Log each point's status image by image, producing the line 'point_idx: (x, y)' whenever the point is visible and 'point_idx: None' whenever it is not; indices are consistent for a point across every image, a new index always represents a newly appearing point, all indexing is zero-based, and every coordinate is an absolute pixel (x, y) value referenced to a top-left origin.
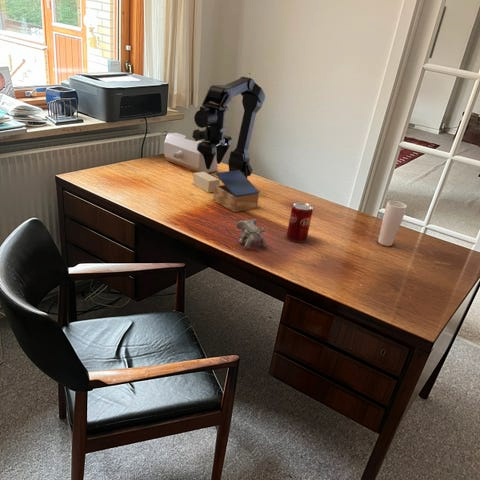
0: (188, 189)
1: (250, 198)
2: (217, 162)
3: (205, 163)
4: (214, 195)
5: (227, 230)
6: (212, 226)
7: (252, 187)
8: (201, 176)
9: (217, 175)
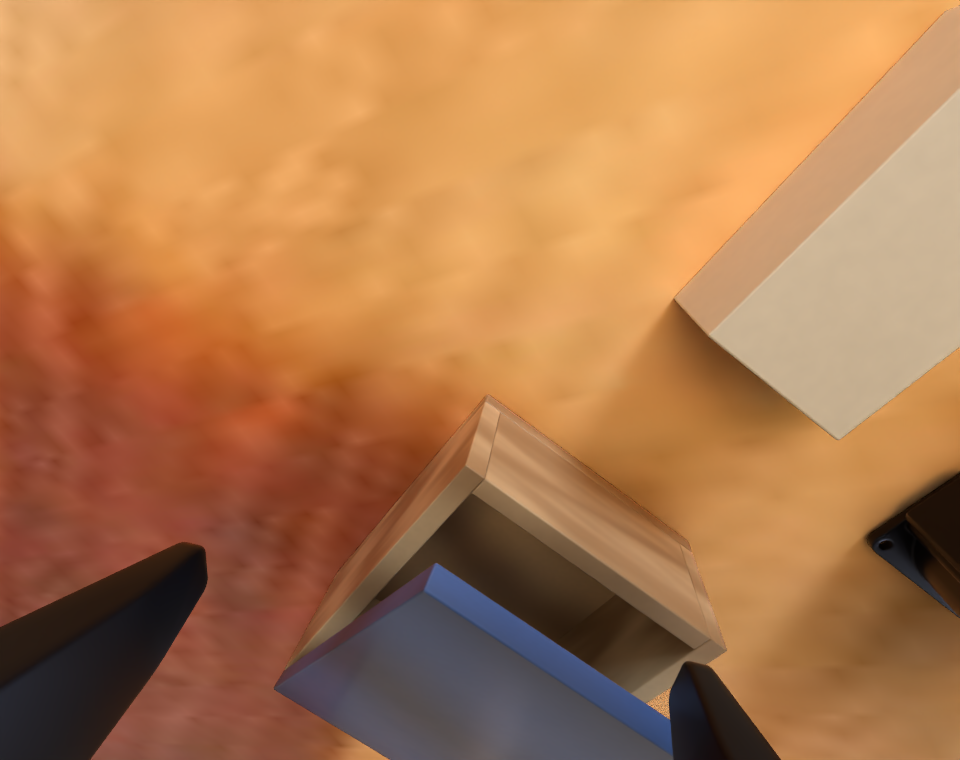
0: (685, 41)
1: None
2: (687, 687)
3: (41, 613)
4: (472, 424)
5: (61, 569)
6: (39, 489)
7: None
8: (905, 167)
9: (404, 595)
